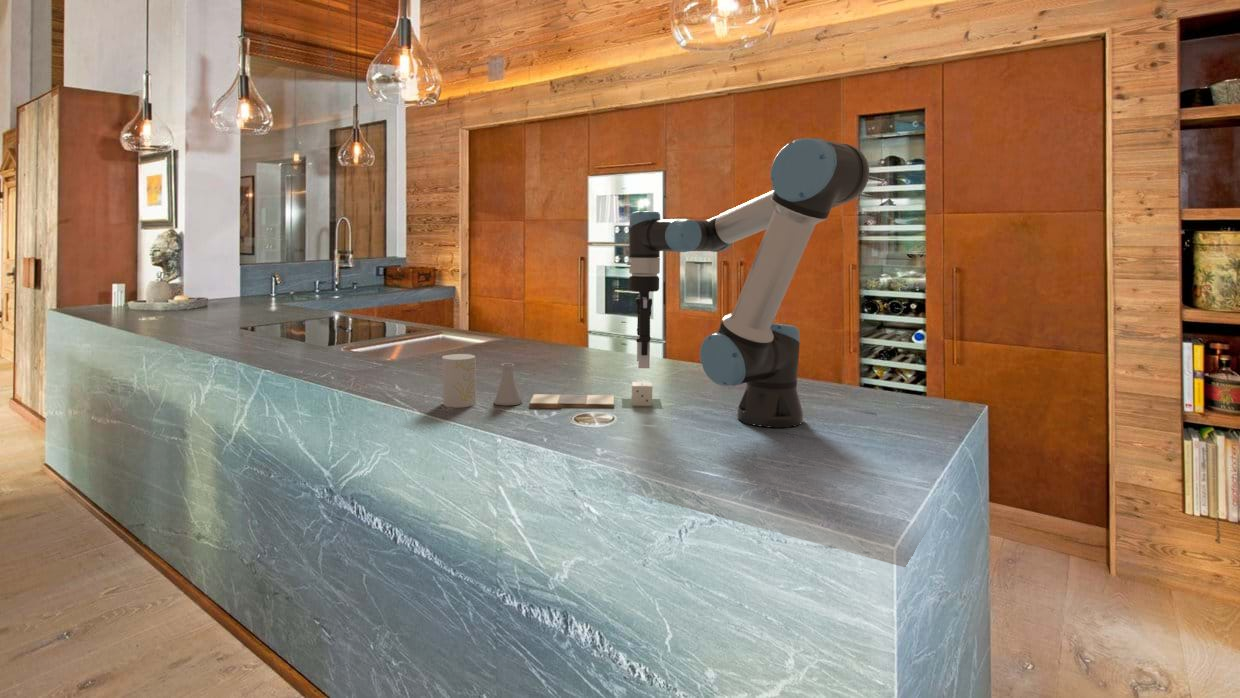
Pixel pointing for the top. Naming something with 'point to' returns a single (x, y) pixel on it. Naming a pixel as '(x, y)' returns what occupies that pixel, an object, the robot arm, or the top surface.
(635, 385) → the die
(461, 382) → the white upright cylinder
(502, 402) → the flask
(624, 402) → the mat
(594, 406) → the board
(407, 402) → the top surface
